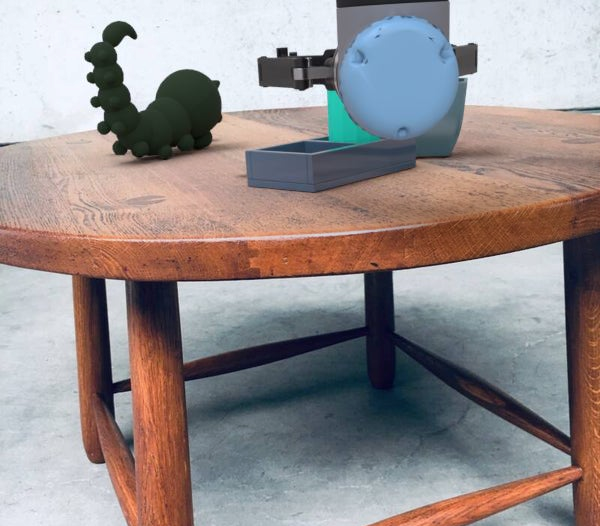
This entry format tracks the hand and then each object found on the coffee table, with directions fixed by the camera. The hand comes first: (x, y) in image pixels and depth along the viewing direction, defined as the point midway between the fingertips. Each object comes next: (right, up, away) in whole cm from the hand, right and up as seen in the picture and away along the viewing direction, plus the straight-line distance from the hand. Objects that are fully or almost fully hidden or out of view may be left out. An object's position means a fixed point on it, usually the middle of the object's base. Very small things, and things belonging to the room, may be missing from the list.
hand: (361, 62), depth 90 cm
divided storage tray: (-2, -9, +11) cm, 15 cm away
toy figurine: (-25, +1, +37) cm, 45 cm away
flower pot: (+10, -3, +23) cm, 26 cm away
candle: (0, -6, +14) cm, 16 cm away
